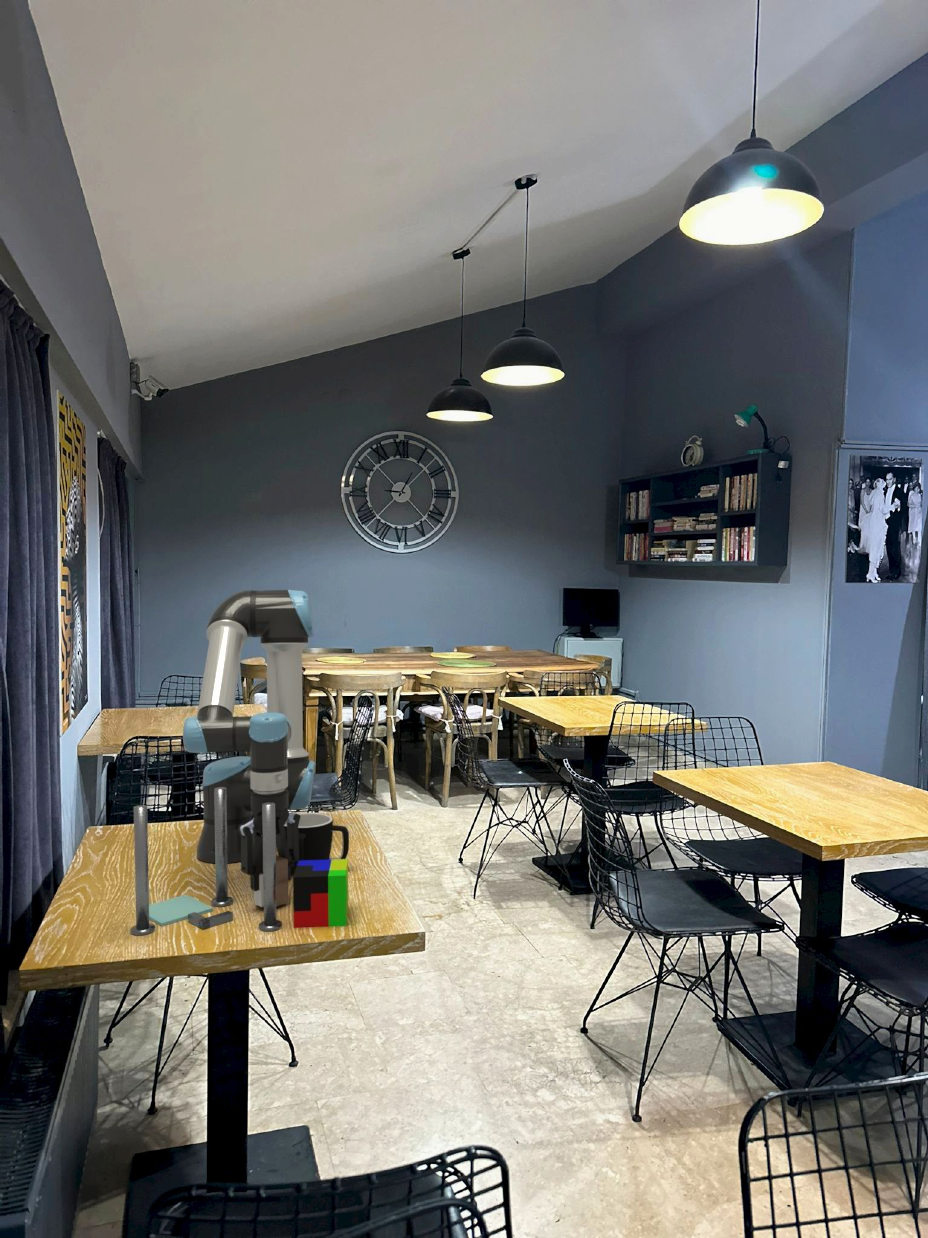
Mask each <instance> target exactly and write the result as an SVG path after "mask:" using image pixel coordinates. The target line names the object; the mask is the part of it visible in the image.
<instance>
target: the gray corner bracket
mask: <svg viewBox="0 0 928 1238" xmlns="http://www.w3.org/2000/svg"><path fill="white" fill-rule="evenodd" d="M233 920H234V912H232V911H230V910H227V911H224V912H220V913H217V914H212V915H210V916H208V917H205V916H203V914H201V915H200V914H198V913H196V912H193V913H190V914H188V919H187V922H188V923H190V924H192V925H193V926H195V927H197V928H199V929H201V930H205V929H207V930H208V929H209V928H213V927H215V926H219V925H222V924H225V923H229V922H232V921H233Z"/></svg>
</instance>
